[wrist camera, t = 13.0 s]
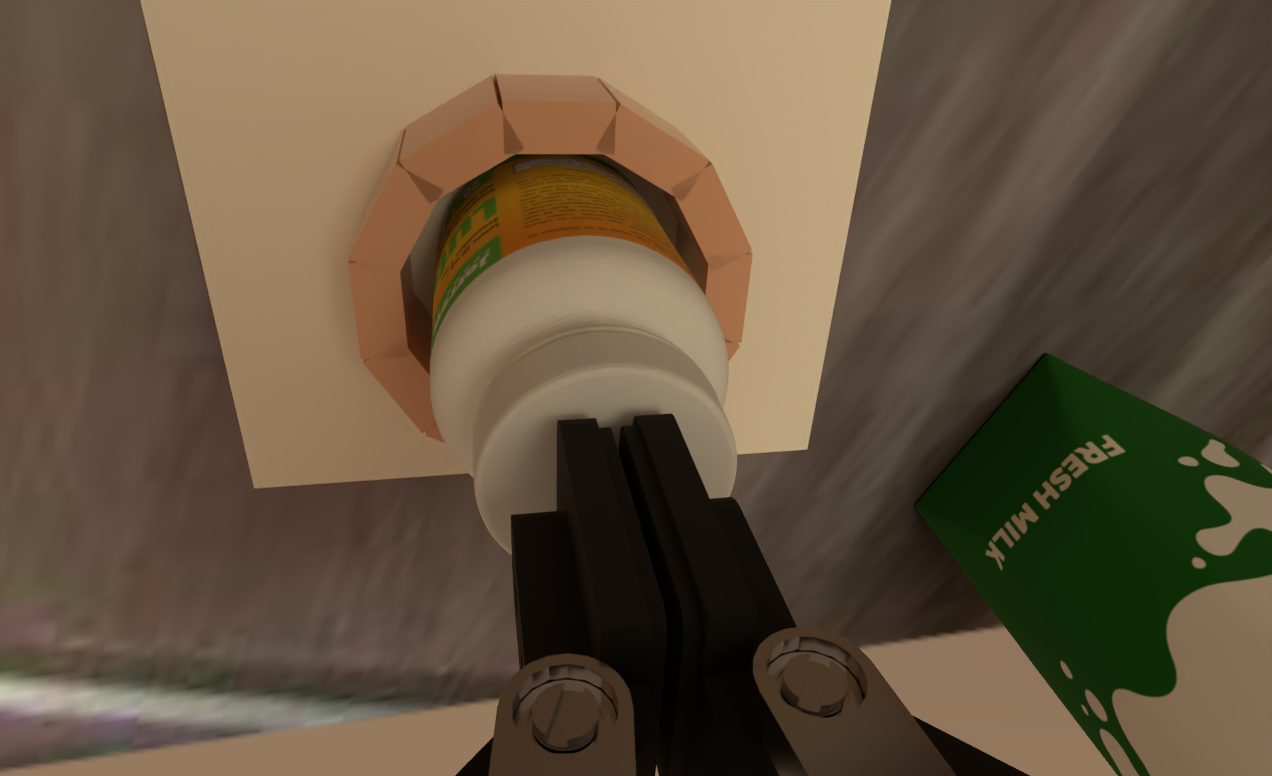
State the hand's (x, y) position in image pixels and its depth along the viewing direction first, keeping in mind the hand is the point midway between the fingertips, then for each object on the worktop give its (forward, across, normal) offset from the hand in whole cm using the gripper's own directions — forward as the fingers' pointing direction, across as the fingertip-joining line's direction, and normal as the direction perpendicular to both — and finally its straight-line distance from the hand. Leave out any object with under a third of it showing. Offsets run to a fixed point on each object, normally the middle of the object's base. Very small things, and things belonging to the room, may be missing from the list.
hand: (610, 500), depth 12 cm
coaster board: (+11, 0, 0) cm, 11 cm away
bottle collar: (+10, 0, 0) cm, 10 cm away
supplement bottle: (+10, 0, 0) cm, 10 cm away
